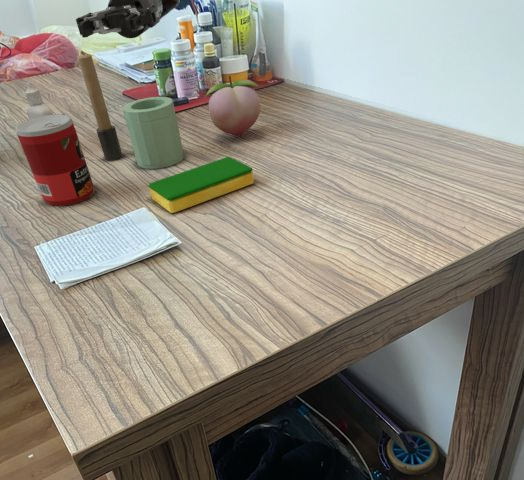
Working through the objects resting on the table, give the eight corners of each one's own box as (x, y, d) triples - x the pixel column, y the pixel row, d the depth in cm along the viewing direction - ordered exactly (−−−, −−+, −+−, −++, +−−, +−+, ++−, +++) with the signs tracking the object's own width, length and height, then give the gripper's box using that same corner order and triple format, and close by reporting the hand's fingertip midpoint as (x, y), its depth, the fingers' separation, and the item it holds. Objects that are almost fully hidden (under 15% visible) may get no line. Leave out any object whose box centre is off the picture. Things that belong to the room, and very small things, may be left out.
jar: (154, 172, 84) (140, 114, 78) (128, 162, 88) (113, 107, 83) (192, 156, 87) (182, 100, 82) (166, 148, 92) (154, 94, 86)
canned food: (91, 203, 77) (65, 127, 70) (38, 210, 77) (7, 134, 70) (99, 182, 83) (76, 111, 76) (50, 189, 83) (22, 118, 76)
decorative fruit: (254, 124, 97) (248, 66, 91) (268, 137, 91) (262, 75, 84) (207, 134, 95) (197, 75, 89) (217, 148, 89) (207, 85, 83)
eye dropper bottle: (63, 144, 100) (40, 77, 92) (67, 152, 96) (42, 82, 88) (41, 149, 99) (15, 81, 91) (43, 158, 95) (16, 88, 87)
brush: (110, 162, 90) (80, 59, 79) (101, 158, 92) (70, 58, 81) (126, 156, 91) (98, 54, 81) (117, 152, 93) (88, 53, 83)
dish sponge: (151, 199, 76) (147, 183, 74) (230, 171, 81) (228, 155, 79) (172, 214, 71) (168, 197, 69) (255, 183, 76) (253, 167, 74)
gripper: (93, -8, 99) (59, 6, 87) (163, -16, 96) (138, -3, 84) (105, 37, 104) (74, 56, 92) (172, 30, 101) (150, 48, 89)
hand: (105, 28), depth 88 cm, fingers open, 8 cm apart
